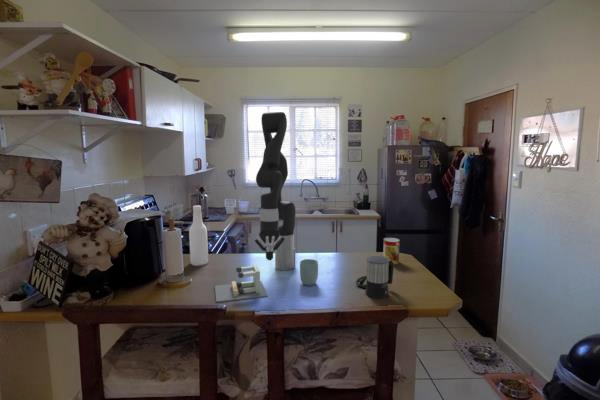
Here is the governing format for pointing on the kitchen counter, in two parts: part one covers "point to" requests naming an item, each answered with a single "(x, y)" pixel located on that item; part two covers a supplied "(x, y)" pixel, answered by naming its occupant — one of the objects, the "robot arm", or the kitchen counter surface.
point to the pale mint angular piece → (255, 281)
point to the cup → (309, 271)
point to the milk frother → (377, 276)
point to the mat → (228, 295)
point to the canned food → (391, 249)
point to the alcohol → (198, 239)
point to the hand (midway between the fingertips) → (269, 259)
